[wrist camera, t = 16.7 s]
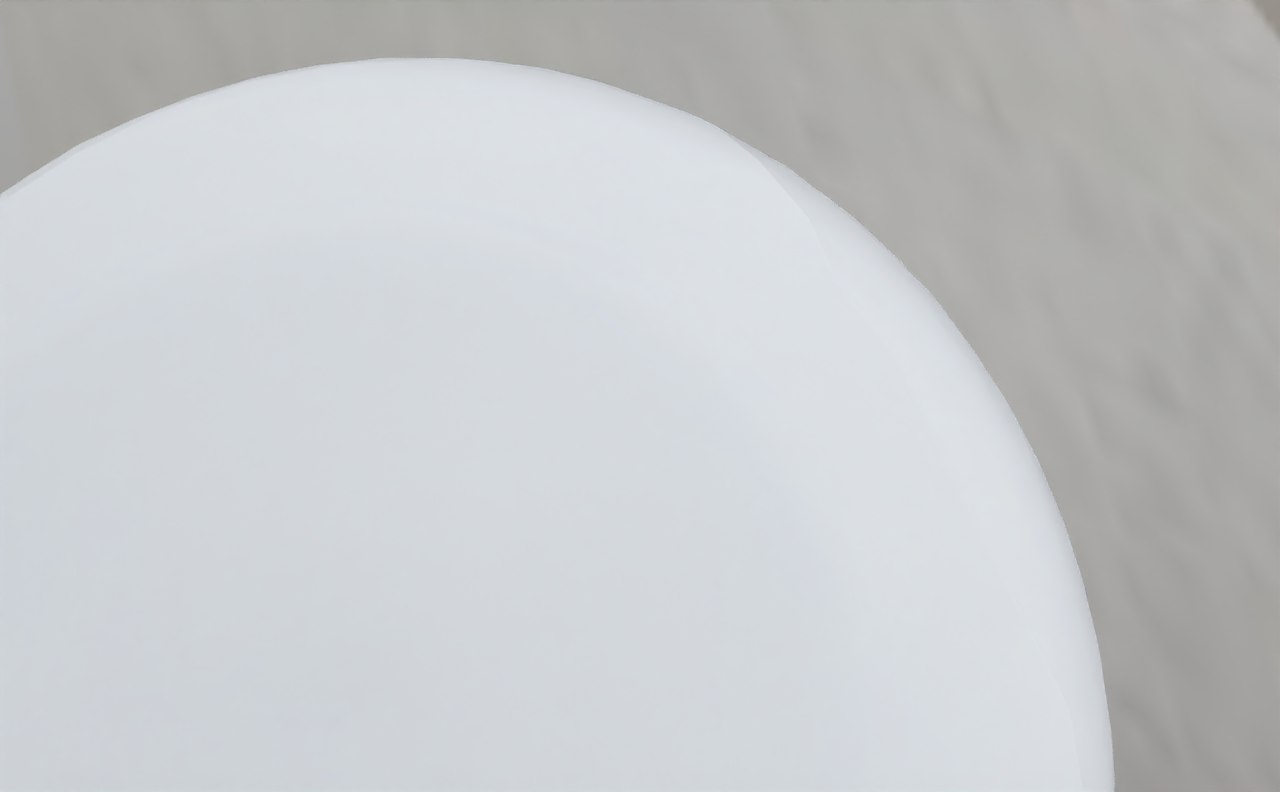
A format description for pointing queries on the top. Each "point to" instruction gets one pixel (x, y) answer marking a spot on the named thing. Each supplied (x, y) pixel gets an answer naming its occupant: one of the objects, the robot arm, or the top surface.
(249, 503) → the sprinkles bottle
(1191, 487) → the top surface
